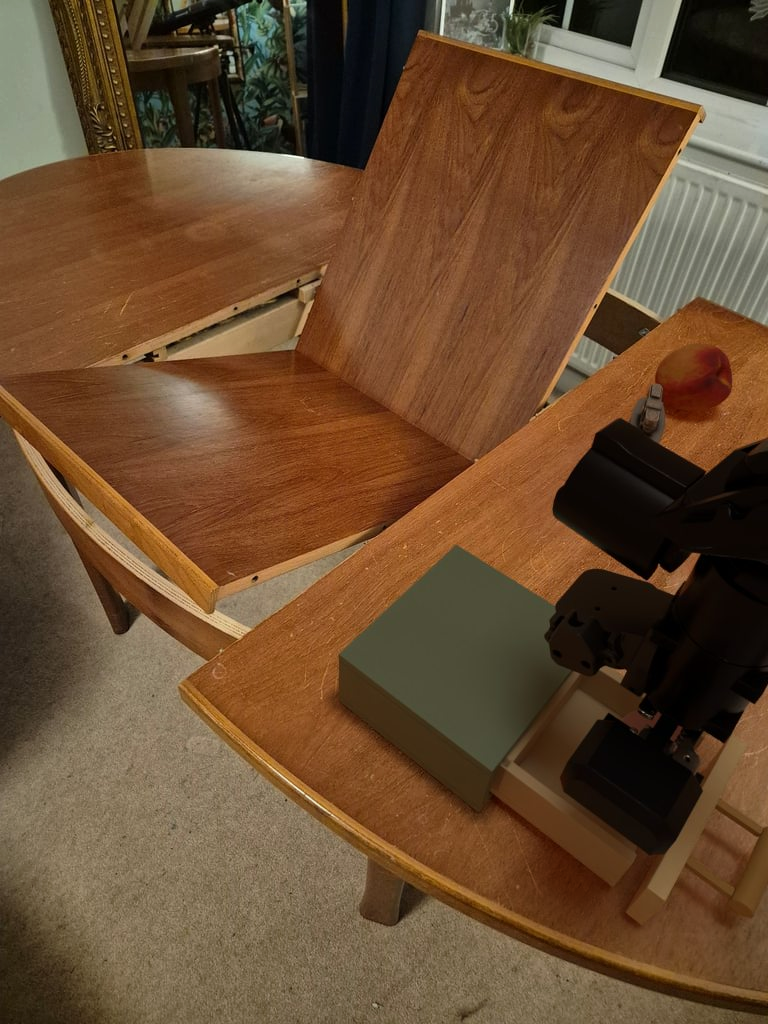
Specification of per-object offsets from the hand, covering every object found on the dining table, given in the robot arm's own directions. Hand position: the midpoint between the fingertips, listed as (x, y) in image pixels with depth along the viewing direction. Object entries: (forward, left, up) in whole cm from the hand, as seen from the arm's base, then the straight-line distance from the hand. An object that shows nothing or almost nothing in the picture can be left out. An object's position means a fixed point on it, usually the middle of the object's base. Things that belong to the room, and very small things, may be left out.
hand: (643, 760), depth 49 cm
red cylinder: (0, 0, -4) cm, 4 cm away
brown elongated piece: (+16, -33, -7) cm, 37 cm away
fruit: (+17, -49, -7) cm, 52 cm away
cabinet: (+14, 0, -7) cm, 16 cm away
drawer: (-1, 0, -6) cm, 6 cm away
